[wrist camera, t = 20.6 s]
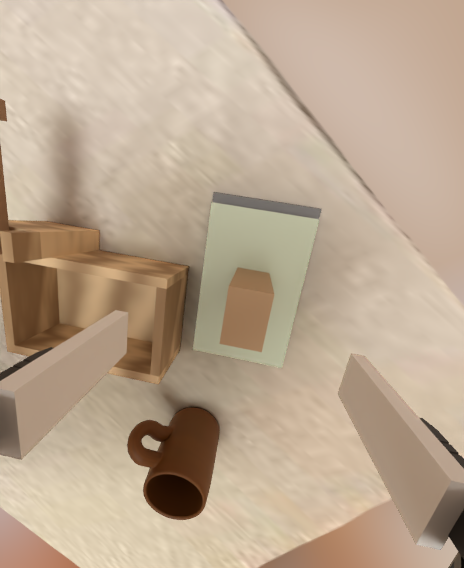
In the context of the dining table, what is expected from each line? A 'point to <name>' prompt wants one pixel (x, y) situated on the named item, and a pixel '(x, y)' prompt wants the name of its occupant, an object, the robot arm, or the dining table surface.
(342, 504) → the dining table surface
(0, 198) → the bar
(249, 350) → the lid
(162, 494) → the mug
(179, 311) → the toolbox
